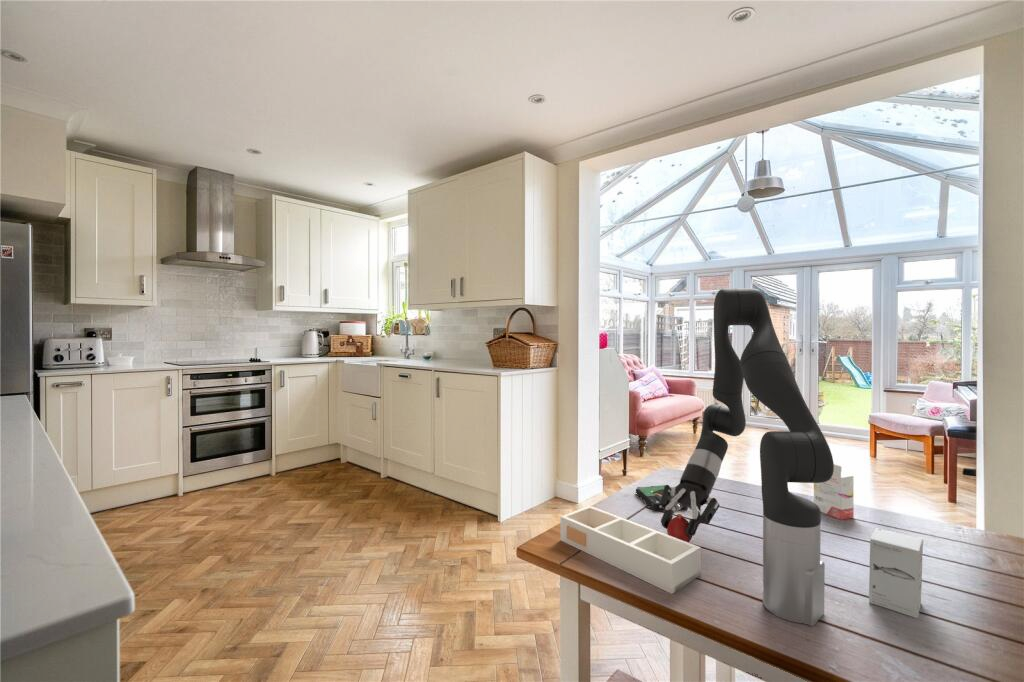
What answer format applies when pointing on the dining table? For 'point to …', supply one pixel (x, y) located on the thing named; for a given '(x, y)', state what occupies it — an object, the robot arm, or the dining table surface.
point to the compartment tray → (633, 547)
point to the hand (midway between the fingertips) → (675, 530)
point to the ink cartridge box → (836, 495)
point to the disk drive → (653, 496)
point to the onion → (678, 528)
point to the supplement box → (896, 571)
